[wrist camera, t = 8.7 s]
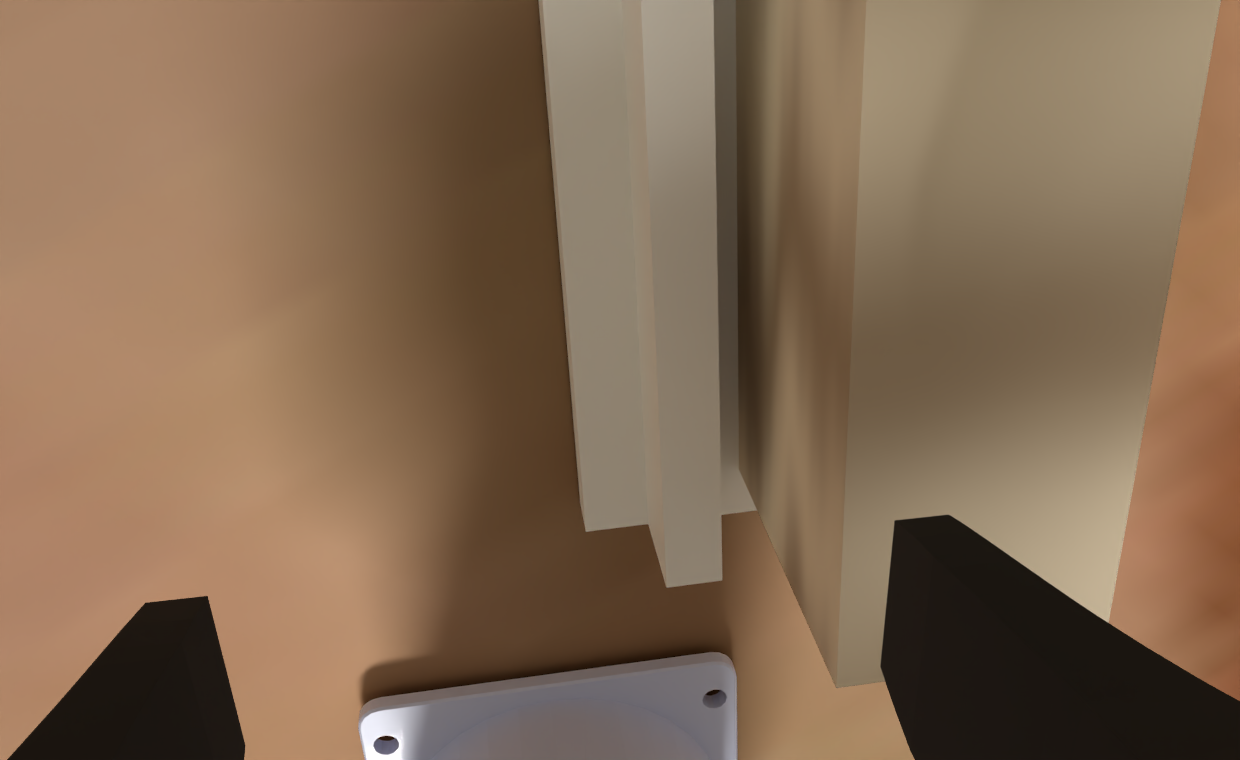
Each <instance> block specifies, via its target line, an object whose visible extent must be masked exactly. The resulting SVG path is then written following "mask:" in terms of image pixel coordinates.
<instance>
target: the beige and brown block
mask: <svg viewBox="0 0 1240 760" xmlns="http://www.w3.org/2000/svg"><path fill="white" fill-rule="evenodd" d="M1220 2H1221V0H736V116H737V264H738V411H739V471H740V473H741V475H742V478H743V480H744V482H745V484H746V487H747V489H748V491H749V493H750V496H751V498H752V500H753V502H754V505H755V507H756V509H757V511H758V514H759V516H760V518H761V520H762V523H763V525H764V527H765V529H766V532H767V534H768V536H769V538H770V540H771V543H772V545H773V547H774V549H775V552H776V554H777V556H778V558H779V561H780V563H781V565H782V567H783V570H784V572H785V574H786V576H787V579H788V581H789V583H790V585H791V588H792V590H793V592H794V594H795V597H796V599H797V601H798V603H799V606H800V608H801V610H802V612H803V615H804V617H805V619H806V621H807V624H808V626H809V628H810V630H811V632H812V635H813V637H814V639H815V641H816V644H817V646H818V648H819V650H820V653H821V655H822V657H823V659H824V662H825V664H826V666H827V668H828V671H829V673H830V675H831V677H832V680H833V682H834V684H835V686H836V688H841V687H848V686H855V685H862V684H869V683H876V682H884V681H885V679H884V676H883V673H882V670H881V667H880V664H881V654H882V644H883V633H884V623H885V613H886V603H887V593H888V582H889V572H890V562H891V552H892V541H893V531H894V521H895V520H903V519H912V518H921V517H931V516H940V515H951V516H952V517H954V518H955V519H957V520H958V521H960V522H962V523H963V524H965V525H966V526H968V527H969V528H971V529H972V530H974V531H975V532H977V533H978V534H979V535H981V536H982V537H984V538H985V539H987V540H988V541H990V542H991V543H992V544H994V545H995V546H997V547H998V548H1000V549H1001V550H1002V551H1004V552H1005V553H1007V554H1008V555H1010V556H1011V557H1012V558H1014V559H1015V560H1017V561H1018V562H1020V563H1021V564H1022V565H1024V566H1025V567H1027V568H1028V569H1030V570H1031V571H1032V572H1034V573H1035V574H1037V575H1038V576H1040V577H1041V578H1042V579H1044V580H1045V581H1047V582H1048V583H1050V584H1051V585H1053V586H1054V587H1055V588H1057V589H1058V590H1060V591H1061V592H1063V593H1064V594H1066V595H1067V596H1069V597H1070V598H1072V599H1073V600H1074V601H1076V602H1077V603H1079V604H1080V605H1082V606H1083V607H1085V608H1086V609H1088V610H1089V611H1091V612H1092V613H1094V614H1095V615H1097V616H1098V617H1100V618H1101V619H1103V620H1105V621H1106V622H1109V617H1110V611H1111V606H1112V600H1113V595H1114V589H1115V583H1116V578H1117V572H1118V567H1119V561H1120V556H1121V550H1122V545H1123V539H1124V534H1125V528H1126V523H1127V517H1128V512H1129V506H1130V500H1131V495H1132V489H1133V484H1134V478H1135V473H1136V467H1137V462H1138V456H1139V451H1140V445H1141V440H1142V434H1143V429H1144V423H1145V417H1146V412H1147V406H1148V401H1149V395H1150V390H1151V384H1152V379H1153V373H1154V368H1155V362H1156V357H1157V351H1158V346H1159V340H1160V334H1161V329H1162V323H1163V318H1164V312H1165V307H1166V301H1167V296H1168V290H1169V285H1170V279H1171V274H1172V268H1173V263H1174V257H1175V251H1176V246H1177V240H1178V235H1179V229H1180V224H1181V218H1182V213H1183V207H1184V202H1185V196H1186V191H1187V185H1188V180H1189V174H1190V168H1191V163H1192V157H1193V152H1194V146H1195V141H1196V135H1197V130H1198V124H1199V119H1200V113H1201V108H1202V102H1203V97H1204V91H1205V85H1206V80H1207V74H1208V69H1209V63H1210V58H1211V52H1212V47H1213V41H1214V36H1215V30H1216V25H1217V19H1218V14H1219V8H1220Z"/></svg>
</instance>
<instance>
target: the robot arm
mask: <svg viewBox="0 0 1240 760" xmlns="http://www.w3.org/2000/svg"><path fill="white" fill-rule="evenodd" d="M880 667H881V670H882V673H883V676H884V679H885V682H886V685H887V688H888V690H889V693H890V696H891V699H892V702H893V705H894V708H895V711H896V713H897V716H898V719H899V721H900V724H901V727H902V729H903V732H904V735H905V737H906V740H907V743H908V745H909V748H910V751H911V753H912V755H913V757H914V759H915V760H1240V701H1238V700H1236V699H1234V698H1233V697H1231V696H1229V695H1227V694H1225V693H1224V692H1222V691H1220V690H1218V689H1216V688H1215V687H1213V686H1211V685H1209V684H1207V683H1206V682H1204V681H1202V680H1200V679H1199V678H1197V677H1195V676H1194V675H1192V674H1190V673H1189V672H1187V671H1185V670H1184V669H1182V668H1180V667H1179V666H1177V665H1175V664H1174V663H1172V662H1170V661H1169V660H1167V659H1165V658H1164V657H1162V656H1160V655H1159V654H1157V653H1155V652H1154V651H1152V650H1150V649H1148V648H1147V647H1145V646H1144V645H1142V644H1140V643H1139V642H1137V641H1136V640H1134V639H1133V638H1131V637H1129V636H1128V635H1126V634H1125V633H1123V632H1122V631H1120V630H1118V629H1117V628H1115V627H1114V626H1112V625H1111V624H1109V623H1108V622H1106V621H1105V620H1103V619H1101V618H1100V617H1098V616H1097V615H1095V614H1094V613H1092V612H1091V611H1089V610H1088V609H1086V608H1085V607H1083V606H1082V605H1080V604H1079V603H1077V602H1076V601H1074V600H1073V599H1072V598H1070V597H1069V596H1067V595H1066V594H1064V593H1063V592H1061V591H1060V590H1058V589H1057V588H1055V587H1054V586H1053V585H1051V584H1050V583H1048V582H1047V581H1045V580H1044V579H1042V578H1041V577H1040V576H1038V575H1037V574H1035V573H1034V572H1032V571H1031V570H1030V569H1028V568H1027V567H1025V566H1024V565H1022V564H1021V563H1020V562H1018V561H1017V560H1015V559H1014V558H1012V557H1011V556H1010V555H1008V554H1007V553H1005V552H1004V551H1002V550H1001V549H1000V548H998V547H997V546H995V545H994V544H992V543H991V542H990V541H988V540H987V539H985V538H984V537H982V536H981V535H979V534H978V533H977V532H975V531H974V530H972V529H971V528H969V527H968V526H966V525H965V524H963V523H962V522H960V521H958V520H957V519H955V518H954V517H952V516H951V515H940V516H931V517H921V518H912V519H903V520H895V521H894V531H893V541H892V552H891V562H890V572H889V582H888V593H887V603H886V613H885V623H884V633H883V644H882V654H881V664H880ZM714 689H715V690H720V691H719V692H718V693H717V694H714V695H712V696H708V695H705V694H706V693H707V692H709V691H711V690H714ZM358 729H359V734H360V739H361V744H362V748H363V753H364V758H365V760H737V676H736V672H735V669H734V666H733V663H732V660H731V659H730V658H729V657H728V656H727V655H725V654H722V653H720V652H708V653H701V654H693V655H686V656H679V657H671V658H664V659H657V660H649V661H642V662H635V663H627V664H620V665H613V666H605V667H598V668H591V669H583V670H576V671H569V672H561V673H554V674H547V675H539V676H532V677H525V678H518V679H510V680H503V681H496V682H488V683H481V684H474V685H466V686H459V687H452V688H444V689H437V690H430V691H422V692H415V693H408V694H400V695H393V696H386V697H379V698H376V699H372V700H370V701H369V702H367V703H366V704H364V705H363V707H362V709H361V710H360V714H359V728H358ZM382 736H392V737H394V738H395V739H393V740H390V741H382V740H380V739H378V738H379V737H382ZM244 754H245V742H244V739H243V735H242V731H241V727H240V723H239V719H238V715H237V711H236V707H235V703H234V699H233V695H232V691H231V687H230V683H229V679H228V675H227V671H226V667H225V663H224V660H223V656H222V652H221V648H220V644H219V640H218V636H217V632H216V628H215V624H214V620H213V616H212V612H211V608H210V604H209V600H208V596H204V597H195V598H186V599H177V600H168V601H159V602H150V603H145V604H144V605H143V606H142V607H141V609H140V610H139V611H138V612H137V613H136V614H135V615H134V616H133V617H132V619H131V620H130V621H129V622H128V623H127V624H126V625H125V626H124V627H123V629H122V630H121V631H120V632H119V633H118V634H117V635H116V637H115V638H114V639H113V640H112V641H111V642H110V644H109V645H108V646H107V647H106V648H105V649H104V651H103V652H102V653H101V654H100V655H99V656H98V658H97V659H96V660H95V661H94V662H93V663H92V665H91V666H90V667H89V668H88V669H87V670H86V672H85V673H84V674H83V675H82V676H81V677H80V679H79V680H78V681H77V682H76V683H75V684H74V685H73V687H72V688H71V689H70V690H69V691H68V692H67V694H66V695H65V696H64V697H63V698H62V699H61V700H60V702H59V703H58V704H57V705H56V706H55V707H54V708H53V709H52V711H51V712H50V713H49V714H48V715H47V716H46V717H45V718H44V719H43V721H42V722H41V723H40V724H39V725H38V726H37V727H36V728H35V729H34V731H33V732H32V733H31V734H30V735H29V736H28V737H27V738H26V739H25V741H24V742H23V743H22V744H21V745H20V746H19V747H18V748H17V749H16V751H15V752H14V753H13V754H12V755H11V756H10V757H9V758H8V759H7V760H244Z"/></svg>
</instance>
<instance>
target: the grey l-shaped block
mask: <svg viewBox="0 0 1240 760" xmlns="http://www.w3.org/2000/svg"><path fill="white" fill-rule="evenodd" d="M538 1H539V13H540V25H541V38H542V50H543V62H544V74H545V86H546V98H547V110H548V122H549V134H550V146H551V158H552V170H553V182H554V194H555V206H556V218H557V230H558V242H559V254H560V266H561V278H562V291H563V303H564V315H565V327H566V339H567V351H568V363H569V375H570V387H571V399H572V411H573V423H574V435H575V447H576V459H577V471H578V483H579V495H580V505H581V510H582V515H583V520H584V525H585V530H586V532H588V531H596V530H604V529H612V528H620V527H628V526H636V525H644V524H648V525H649V529H650V532H651V536H652V539H653V543H654V546H655V550H656V553H657V557H658V560H659V564H660V567H661V571H662V574H663V578H664V581H665V585H666V588H669V587H677V586H684V585H692V584H700V583H707V582H715V581H722V525H721V515H725V514H733V513H741V512H749V511H757V509H756V507H755V505H754V502H753V500H752V498H751V496H750V493H749V491H748V489H747V487H746V484H745V482H744V480H743V478H742V475H741V473H740V471H739V411H738V264H737V116H736V0H538Z"/></svg>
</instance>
